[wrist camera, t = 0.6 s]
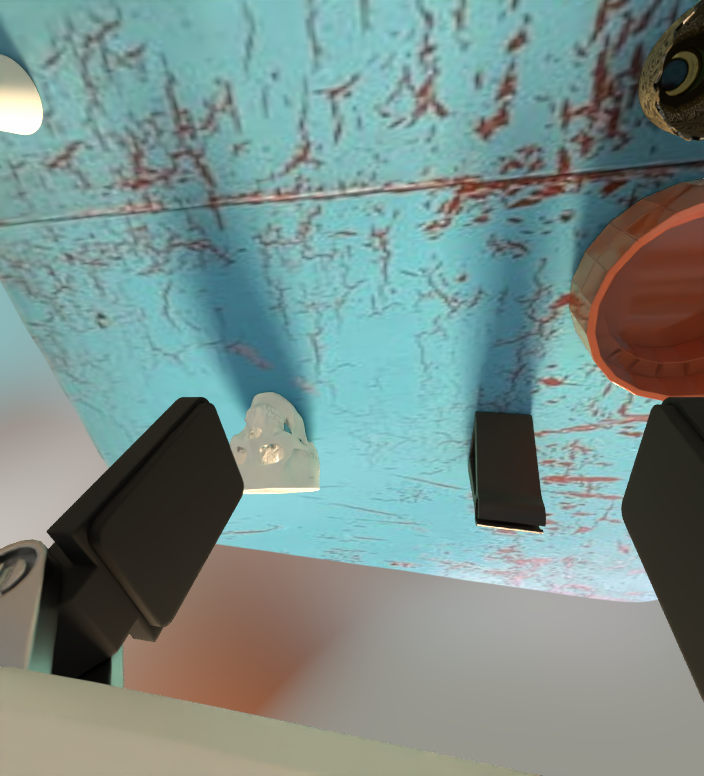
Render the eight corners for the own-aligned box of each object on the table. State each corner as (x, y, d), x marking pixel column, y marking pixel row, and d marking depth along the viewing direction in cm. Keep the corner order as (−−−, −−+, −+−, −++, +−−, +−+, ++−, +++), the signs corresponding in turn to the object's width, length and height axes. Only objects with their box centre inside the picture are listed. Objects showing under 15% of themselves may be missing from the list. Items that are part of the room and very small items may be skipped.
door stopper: (517, 472, 49) (534, 559, 40) (467, 467, 50) (472, 550, 41) (531, 414, 44) (555, 496, 35) (476, 409, 46) (483, 488, 36)
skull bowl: (294, 379, 46) (284, 485, 41) (336, 420, 58) (332, 507, 53) (217, 389, 50) (199, 489, 44) (272, 426, 62) (263, 509, 56)
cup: (766, 1, 25) (878, -41, 18) (704, 139, 29) (778, 144, 23) (637, 2, 26) (700, -39, 20) (595, 135, 30) (635, 138, 24)
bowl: (579, 195, 33) (604, 209, 27) (833, 157, 28) (922, 165, 23) (560, 367, 41) (576, 404, 36) (754, 358, 37) (806, 398, 31)
